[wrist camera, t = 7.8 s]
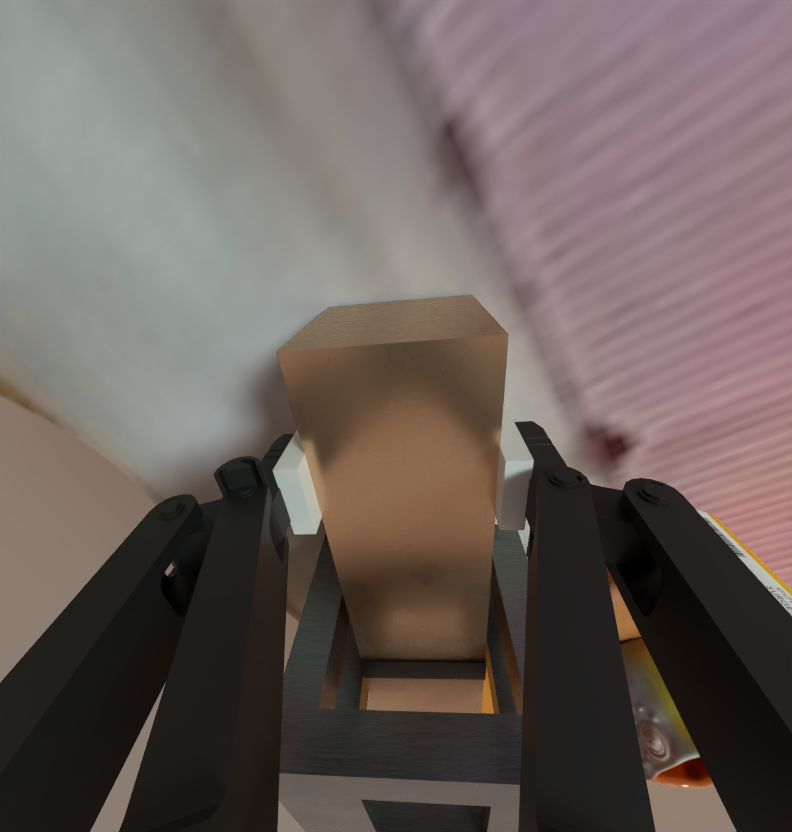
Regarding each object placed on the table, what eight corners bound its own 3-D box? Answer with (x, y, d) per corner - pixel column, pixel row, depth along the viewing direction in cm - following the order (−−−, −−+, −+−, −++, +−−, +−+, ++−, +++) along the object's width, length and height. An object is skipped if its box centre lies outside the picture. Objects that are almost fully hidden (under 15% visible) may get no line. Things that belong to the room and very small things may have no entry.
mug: (675, 620, 24) (758, 744, 18) (702, 663, 26) (783, 785, 20) (523, 663, 28) (550, 776, 22) (558, 697, 30) (591, 807, 24)
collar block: (327, 528, 21) (254, 772, 12) (515, 524, 20) (604, 789, 10) (353, 622, 26) (317, 844, 17) (504, 623, 25) (556, 861, 16)
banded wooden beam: (327, 307, 14) (273, 353, 9) (473, 294, 13) (511, 335, 8) (386, 627, 26) (379, 732, 20) (466, 627, 25) (481, 735, 20)
